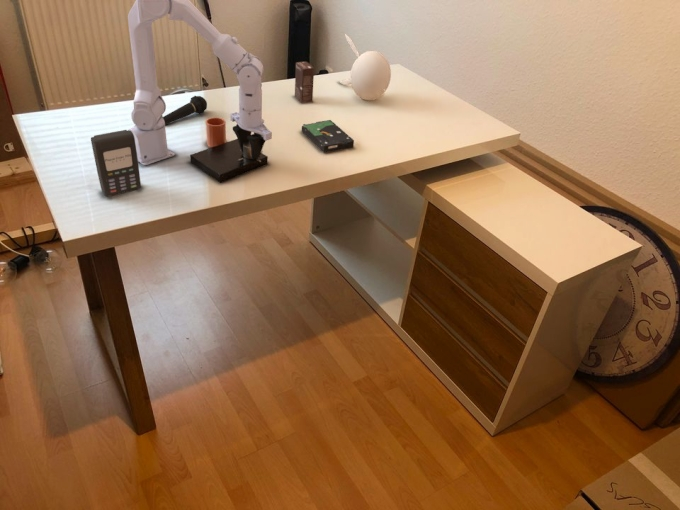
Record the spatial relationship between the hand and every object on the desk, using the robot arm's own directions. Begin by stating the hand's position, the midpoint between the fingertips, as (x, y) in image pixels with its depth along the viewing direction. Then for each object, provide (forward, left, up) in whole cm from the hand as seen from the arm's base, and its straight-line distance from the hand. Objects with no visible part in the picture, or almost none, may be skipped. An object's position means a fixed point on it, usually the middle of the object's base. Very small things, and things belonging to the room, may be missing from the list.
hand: (250, 154), depth 149 cm
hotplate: (-5, +4, -3) cm, 6 cm away
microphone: (0, +35, -3) cm, 35 cm away
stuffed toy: (+62, +15, -3) cm, 64 cm away
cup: (-1, +15, -3) cm, 15 cm away
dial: (0, 0, 0) cm, 0 cm away
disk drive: (+27, -2, -3) cm, 28 cm away
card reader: (-34, +9, -3) cm, 35 cm away
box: (+42, +24, -3) cm, 49 cm away
